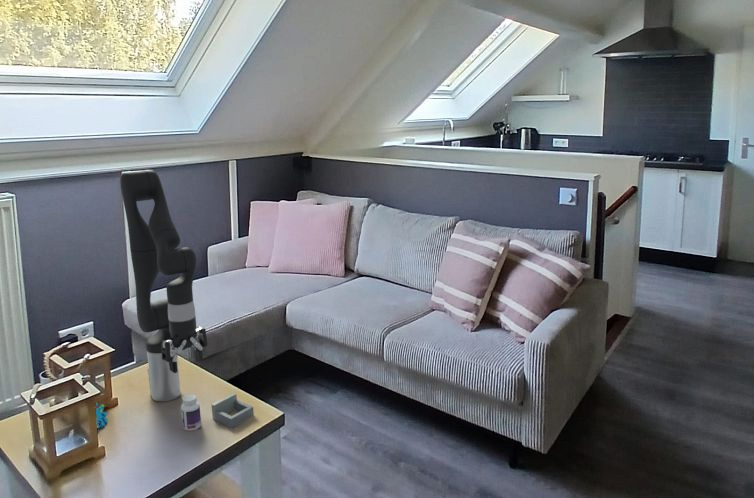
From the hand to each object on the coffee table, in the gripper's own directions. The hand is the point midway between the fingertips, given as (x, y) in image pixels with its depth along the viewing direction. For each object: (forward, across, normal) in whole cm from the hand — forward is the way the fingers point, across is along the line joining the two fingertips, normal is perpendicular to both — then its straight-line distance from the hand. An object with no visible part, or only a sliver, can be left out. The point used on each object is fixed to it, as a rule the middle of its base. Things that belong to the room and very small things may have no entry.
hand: (186, 366), depth 183 cm
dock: (+20, -11, +6) cm, 23 cm away
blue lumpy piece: (+20, +17, -25) cm, 36 cm away
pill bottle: (+20, 0, 0) cm, 20 cm away
